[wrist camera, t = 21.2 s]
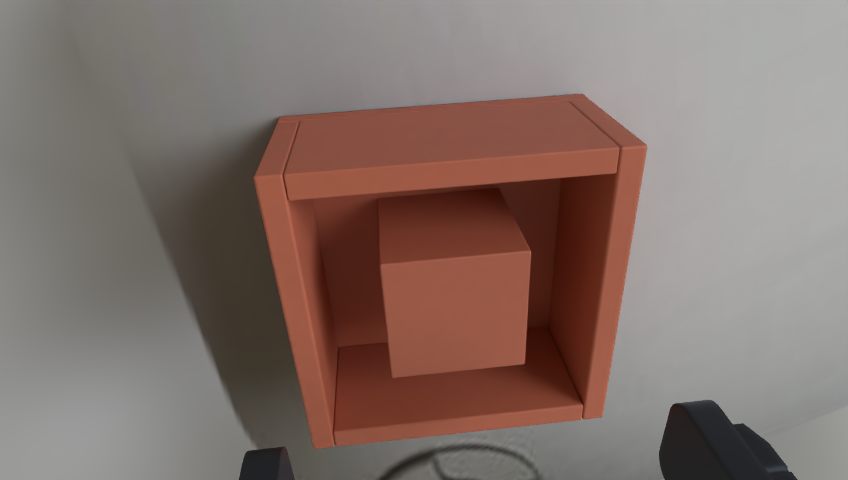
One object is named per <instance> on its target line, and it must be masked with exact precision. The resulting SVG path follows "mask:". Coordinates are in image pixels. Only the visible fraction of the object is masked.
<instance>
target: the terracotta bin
mask: <svg viewBox="0 0 848 480" xmlns="http://www.w3.org/2000/svg"><path fill="white" fill-rule="evenodd" d="M646 151H647V145H646V144H645V143H644V142H642V141H641V140H640V139H639V138H637V137H636V136H635V135H634V134H632V133H631V132H630V131H629V130H627V129H626V128H625V127H623V126H622V125H621V124H620V123H618V122H617V121H616V120H615V119H613V118H612V117H611V116H610V115H608V114H607V113H606V112H604V111H603V110H602V109H601V108H599V107H598V106H597V105H596V104H594V103H593V102H592V101H591V100H589V99H588V98H587V97H586V96H585V95H583V94H574V95H560V96H547V97H534V98H521V99H507V100H494V101H481V102H467V103H454V104H441V105H428V106H414V107H401V108H388V109H374V110H361V111H348V112H335V113H321V114H308V115H295V116H281V117H279V119H278V122H277V124H276V127H275V129H274V131H273V134H272V136H271V138H270V141H269V143H268V145H267V148H266V150H265V152H264V154H263V157H262V159H261V161H260V164H259V166H258V168H257V171H256V173H255V175H254V184H255V188H256V193H257V197H258V202H259V206H260V211H261V215H262V220H263V224H264V229H265V233H266V238H267V242H268V247H269V251H270V255H271V260H272V264H273V269H274V273H275V278H276V282H277V287H278V291H279V296H280V300H281V305H282V309H283V314H284V318H285V323H286V327H287V332H288V336H289V341H290V345H291V350H292V354H293V358H294V363H295V367H296V372H297V376H298V381H299V385H300V390H301V394H302V399H303V403H304V408H305V412H306V417H307V421H308V426H309V430H310V435H311V439H312V444H313V447H314V448H315V449H319V448H328V447H334V446H335V444H336V446H346V445H356V444H365V443H374V442H383V441H392V440H401V439H410V438H419V437H428V436H437V435H447V434H456V433H465V432H474V431H483V430H492V429H501V428H510V427H519V426H529V425H538V424H547V423H556V422H565V421H574V420H580V419H581V418H583V419H592V418H601V417H602V416H603V410H604V404H605V398H606V392H607V386H608V380H609V374H610V368H611V362H612V356H613V350H614V344H615V338H616V332H617V326H618V320H619V314H620V308H621V302H622V296H623V290H624V284H625V278H626V272H627V266H628V260H629V254H630V248H631V242H632V236H633V230H634V224H635V218H636V212H637V206H638V200H639V194H640V187H641V181H642V175H643V169H644V163H645V157H646ZM492 188H499V189H500V191H501V193H502V195H503V197H504V199H505V201H506V203H507V205H508V207H509V209H510V211H511V213H512V215H513V217H514V219H515V221H516V222H517V224H518V226H519V228H520V230H521V232H522V234H523V236H524V238H525V240H526V242H527V244H528V246H529V248H530V250H531V264H530V281H529V298H528V316H527V333H526V351H525V363H524V364H522V365H512V366H503V367H493V368H484V369H474V370H464V371H455V372H445V373H436V374H426V375H417V376H407V377H398V378H392V376H391V369H390V359H389V350H388V341H387V332H386V323H385V313H384V304H383V295H382V286H381V277H380V267H379V247H378V224H377V202H376V200H377V199H378V198H388V197H400V196H411V195H423V194H434V193H446V192H458V191H469V190H481V189H492Z"/></svg>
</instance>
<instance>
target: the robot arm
mask: <svg viewBox="0 0 848 480" xmlns="http://www.w3.org/2000/svg"><path fill="white" fill-rule="evenodd" d="M659 460H660V466H661V470H662V474H663V476H664V479H665V480H797V479H796V477H795V476H794V475H793V473H792V472H789V471H788V469H787V466H786V464H785V463H784V462H783V461H782V459H781V458H780V457H779V456H778V454H777V453H776V452H775V450H774V449H773V448H772V447H771V445H770V444H769V443H768V442H767V441H765V440H764V439H763V438H762V437H760V436H759V435H758V434H756V433H755V432H754V431H752V430H751V429H750V428H748V427H747V426H746V425H744V424H734V425H733V424H732V423H731V422H730V420H729V419H728V418H727V416H726V415H725V413H724V412H723V411H722V409H721V408H720V407H719V406H718V405H717V404H716V403H715V402H714V401H712V400H703V401H694V402H685V403H676V404H673V405H672V407H671V409H670V412H669V416H668V420H667V423H666V427H665V431H664V435H663V439H662V443H661V446H660V451H659ZM239 480H295V479H294V475H293V472H292V468H291V464H290V460H289V456H288V452H287V449H286V448H285V447H277V448H268V449H259V450H251V451H247V452H246V454H245V456H244V459H243V463H242V468H241V473H240V477H239Z"/></svg>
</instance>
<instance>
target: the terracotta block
mask: <svg viewBox="0 0 848 480" xmlns="http://www.w3.org/2000/svg"><path fill="white" fill-rule="evenodd" d="M376 202H377V224H378V247H379V267H380V277H381V286H382V295H383V304H384V313H385V323H386V332H387V341H388V350H389V359H390V369H391V376H392V378H398V377H407V376H417V375H426V374H436V373H445V372H455V371H464V370H474V369H484V368H493V367H503V366H512V365H522V364H524V363H525V351H526V333H527V316H528V298H529V281H530V264H531V250H530V248H529V246H528V244H527V242H526V240H525V238H524V236H523V234H522V232H521V230H520V228H519V226H518V224H517V222H516V221H515V219H514V217H513V215H512V213H511V211H510V209H509V207H508V205H507V203H506V201H505V199H504V197H503V195H502V193H501V191H500V189H499V188H492V189H481V190H469V191H458V192H446V193H434V194H423V195H411V196H400V197H388V198H378V199H377V200H376Z"/></svg>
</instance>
